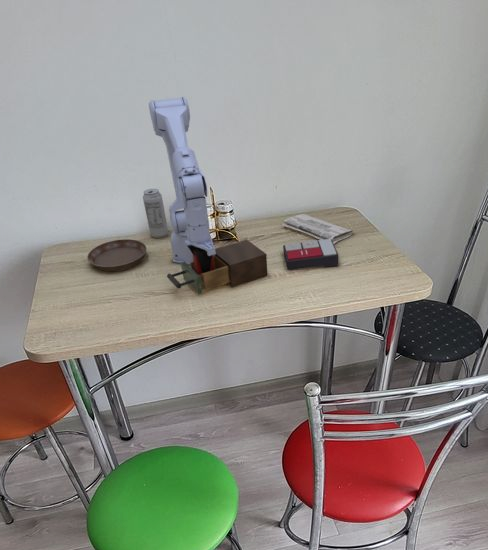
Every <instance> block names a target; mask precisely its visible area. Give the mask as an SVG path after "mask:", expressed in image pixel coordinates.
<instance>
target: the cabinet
mask: <svg viewBox="0 0 488 550" xmlns="http://www.w3.org/2000/svg"><path fill="white" fill-rule="evenodd" d="M215 251H216V254H214V255H216V256H217V257H219V258H220V259H221V260H222V261H223V262H224V263H226V264H227V265H228V266H229V269H230V279H231V282H229V283H227V284H228V285H229V286H230V287H231V288H236V287H238V286H241V285H244V284H247V283H250V282H254V281H256V280H259V279H262V278H265V277H268V258H267V253H266V252H264V251H263V250H262V249H260V248H259V247H258V246H257V245H255V244H253V243H252V242H251V241H249V240H248V239H244V240H241V241H237V242H234V243H231V244H227V245H224V246H220V247H217V248H216V247H215Z"/></svg>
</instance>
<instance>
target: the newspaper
mask: <svg viewBox="0 0 488 550" xmlns="http://www.w3.org/2000/svg"><path fill="white" fill-rule="evenodd" d="M281 226H283V227H287V228H289V229H292V230H295V231H299V232H301V233H303V234H306V235H309V236H311V237H313V238H316V239H317V240H325V239H332V241H333V244H334V245H335V244H337V243H338V242H339V241H342V240H344V239H347V238H349V237H351V235H352V234H353V233H354V230H351V229H349V228H346V227H343V226H340V225H337V224H334V223H331V222H329V221H326V220H323V219H320V218H317V217H314V216H311V215H310V214H309V215H308V214H306V213H301V214H296V215H293V216H291V217H288V218H286V219H284V220H283V223H282V224H281Z"/></svg>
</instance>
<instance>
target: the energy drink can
mask: <svg viewBox="0 0 488 550" xmlns="http://www.w3.org/2000/svg"><path fill="white" fill-rule="evenodd" d="M142 200H143V206H144V210H145V216H146V220H147V225H148V229H149V234H150V236H152V238H154V239H163V238H166V237H167V236H168V234H169V227H168V222H167V217H166V216H167V215H166V211H165V206H164V200H163V195H162V194H161V192H160V190H159V189H158V188H148V189H146V190H143V196H142Z"/></svg>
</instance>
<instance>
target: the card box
mask: <svg viewBox="0 0 488 550" xmlns="http://www.w3.org/2000/svg"><path fill="white" fill-rule="evenodd" d="M193 260H194V267H195V272H196V273H197V274H198V275H200V274H202V273H203V272H202V270H201V267H200V264H199V261H198V258H197V256H196V255H195V253H193ZM212 270H214V264H213V257H212V261H211V268H210V271H212ZM208 272H209V271H208ZM205 273H206V272H205Z"/></svg>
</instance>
